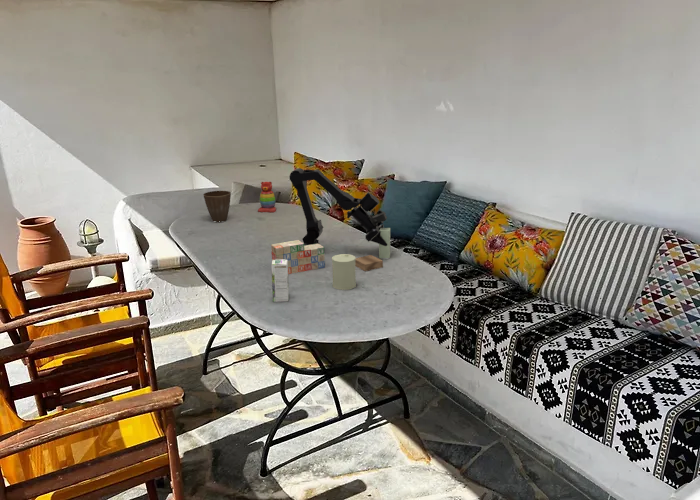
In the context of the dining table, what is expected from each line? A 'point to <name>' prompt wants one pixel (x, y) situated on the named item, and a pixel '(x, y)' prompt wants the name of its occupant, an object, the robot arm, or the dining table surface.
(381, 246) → the sage post
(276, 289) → the syrup box
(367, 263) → the walnut slab
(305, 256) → the stack of blocks
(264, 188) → the stacking bear
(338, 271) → the can
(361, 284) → the dining table surface
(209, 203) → the plant pot
